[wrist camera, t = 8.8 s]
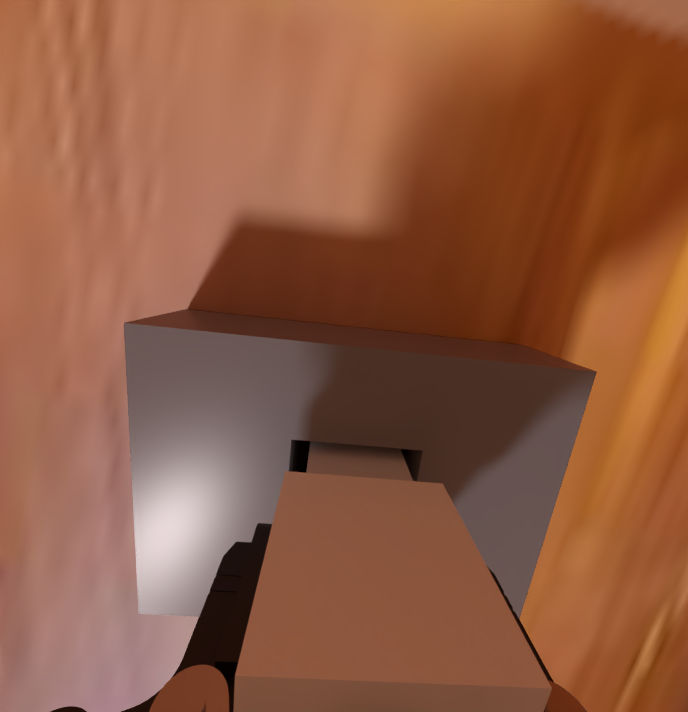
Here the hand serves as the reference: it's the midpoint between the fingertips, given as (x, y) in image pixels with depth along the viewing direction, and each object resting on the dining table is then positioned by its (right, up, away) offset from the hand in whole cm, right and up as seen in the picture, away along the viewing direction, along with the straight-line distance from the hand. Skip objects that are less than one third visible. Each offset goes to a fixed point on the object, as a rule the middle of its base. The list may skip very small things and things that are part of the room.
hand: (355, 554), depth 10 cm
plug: (0, +1, +5) cm, 5 cm away
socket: (0, +2, +7) cm, 7 cm away
